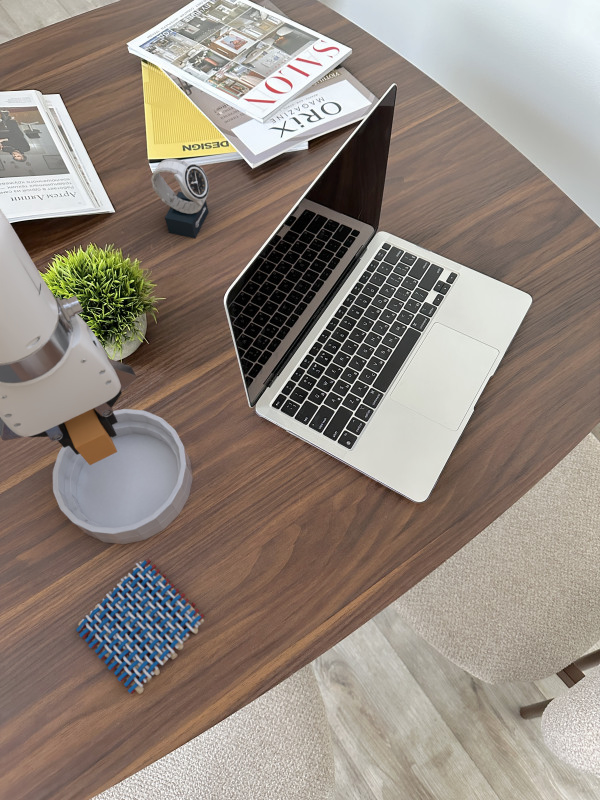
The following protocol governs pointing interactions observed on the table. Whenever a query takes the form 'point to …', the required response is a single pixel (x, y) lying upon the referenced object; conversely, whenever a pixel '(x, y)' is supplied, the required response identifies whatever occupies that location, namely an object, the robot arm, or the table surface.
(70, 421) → the brown rectangular block
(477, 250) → the table surface
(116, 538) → the gray bowl
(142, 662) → the woven mat
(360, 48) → the table surface
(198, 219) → the watch
